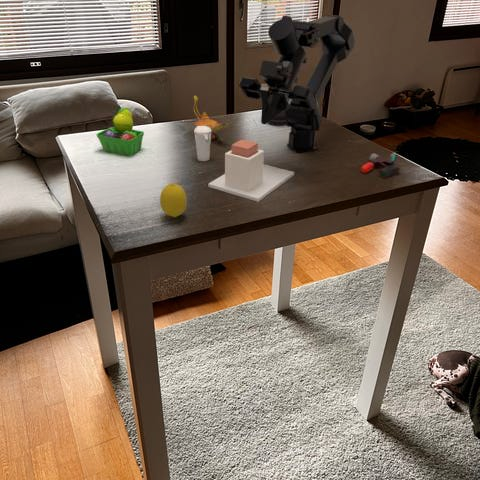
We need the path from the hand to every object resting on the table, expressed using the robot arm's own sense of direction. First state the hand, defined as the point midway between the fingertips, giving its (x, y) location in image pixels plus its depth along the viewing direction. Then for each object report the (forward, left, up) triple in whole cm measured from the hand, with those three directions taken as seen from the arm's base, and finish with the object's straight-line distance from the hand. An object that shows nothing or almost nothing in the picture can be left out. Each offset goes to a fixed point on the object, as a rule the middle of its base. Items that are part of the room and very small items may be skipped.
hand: (263, 123), depth 114 cm
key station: (+3, +2, -13) cm, 14 cm away
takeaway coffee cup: (+10, -15, -14) cm, 23 cm away
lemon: (+27, +13, -14) cm, 33 cm away
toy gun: (-30, +7, -14) cm, 34 cm away
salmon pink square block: (+7, +4, -6) cm, 10 cm away
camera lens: (-23, -36, -14) cm, 45 cm away
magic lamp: (+3, -30, -14) cm, 33 cm away
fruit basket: (+29, -30, -14) cm, 44 cm away
